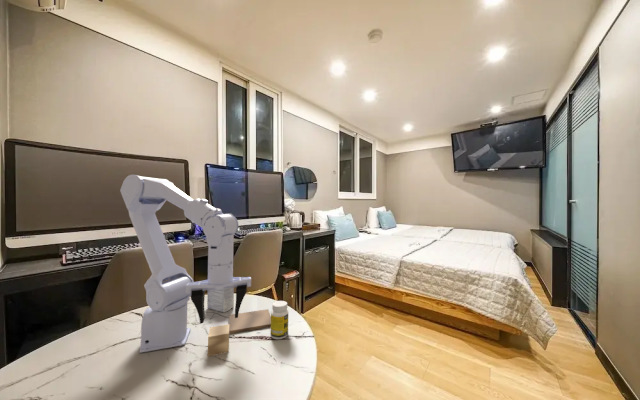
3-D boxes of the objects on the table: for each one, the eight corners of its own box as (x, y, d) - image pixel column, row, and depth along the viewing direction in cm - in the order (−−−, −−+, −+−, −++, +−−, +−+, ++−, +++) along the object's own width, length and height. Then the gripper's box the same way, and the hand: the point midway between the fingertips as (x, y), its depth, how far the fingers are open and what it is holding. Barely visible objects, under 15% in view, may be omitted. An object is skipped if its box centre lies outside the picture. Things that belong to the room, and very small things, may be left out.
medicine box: (234, 308, 78) (234, 282, 78) (223, 313, 74) (224, 286, 74) (217, 303, 82) (218, 279, 82) (206, 308, 78) (207, 283, 78)
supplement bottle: (286, 340, 59) (286, 307, 60) (268, 339, 60) (269, 307, 60) (289, 330, 64) (289, 300, 65) (272, 330, 64) (273, 299, 65)
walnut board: (228, 334, 62) (228, 331, 62) (229, 317, 71) (229, 314, 71) (272, 326, 66) (272, 323, 66) (268, 311, 76) (268, 309, 76)
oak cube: (207, 356, 53) (208, 336, 53) (209, 345, 57) (210, 327, 57) (228, 352, 54) (228, 333, 55) (229, 342, 59) (229, 324, 59)
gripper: (183, 269, 50) (182, 332, 50) (252, 264, 55) (251, 321, 55) (189, 262, 57) (188, 317, 56) (250, 258, 62) (249, 308, 61)
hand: (219, 318), depth 56 cm, fingers open, 7 cm apart
